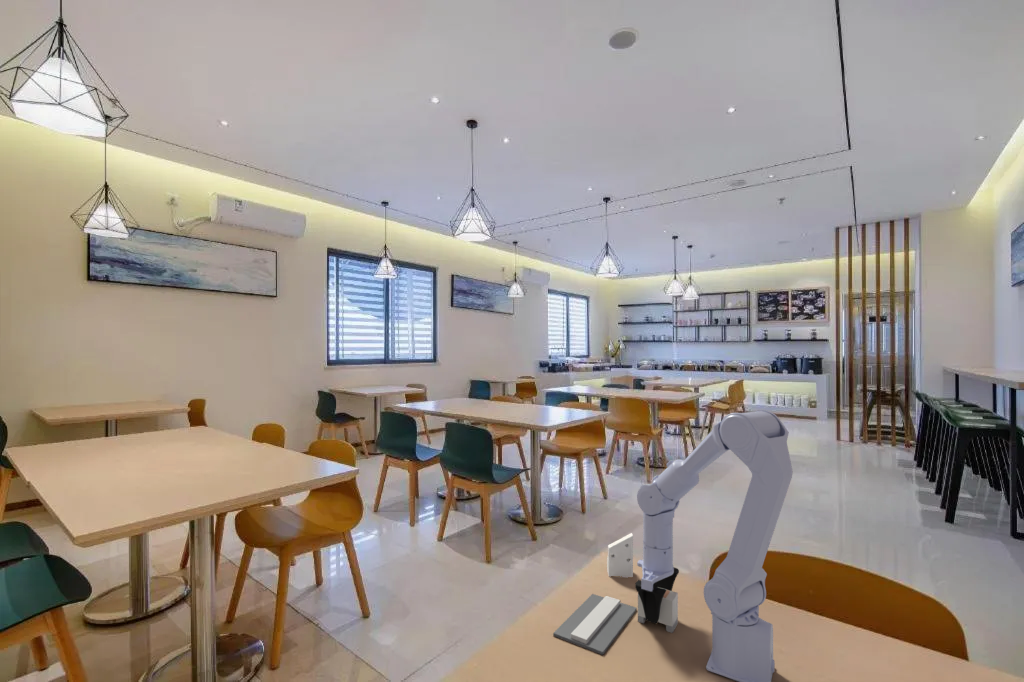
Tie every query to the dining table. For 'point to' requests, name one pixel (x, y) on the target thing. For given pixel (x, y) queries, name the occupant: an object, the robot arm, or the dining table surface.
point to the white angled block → (621, 557)
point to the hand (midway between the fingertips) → (657, 612)
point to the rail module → (664, 610)
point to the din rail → (596, 623)
